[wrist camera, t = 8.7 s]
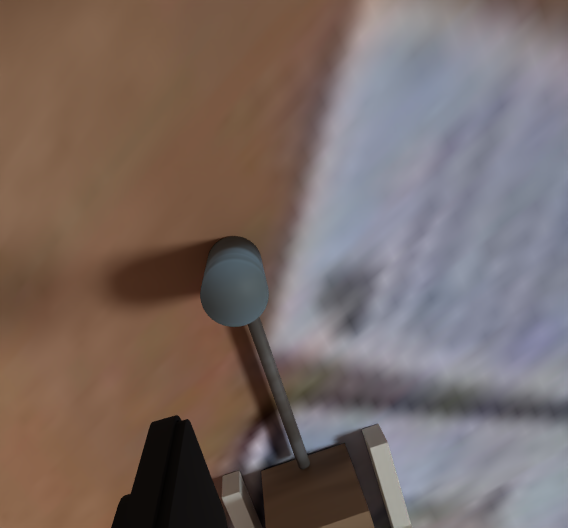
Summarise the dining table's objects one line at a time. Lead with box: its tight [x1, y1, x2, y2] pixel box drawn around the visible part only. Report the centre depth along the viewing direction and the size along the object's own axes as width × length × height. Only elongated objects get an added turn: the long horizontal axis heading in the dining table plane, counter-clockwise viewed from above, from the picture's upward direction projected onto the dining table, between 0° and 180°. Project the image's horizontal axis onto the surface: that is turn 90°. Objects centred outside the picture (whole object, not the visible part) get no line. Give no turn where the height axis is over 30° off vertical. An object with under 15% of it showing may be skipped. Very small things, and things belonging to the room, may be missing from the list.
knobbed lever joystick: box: [200, 236, 375, 528], centre depth 28 cm, size 23×6×6 cm, turn 17°
